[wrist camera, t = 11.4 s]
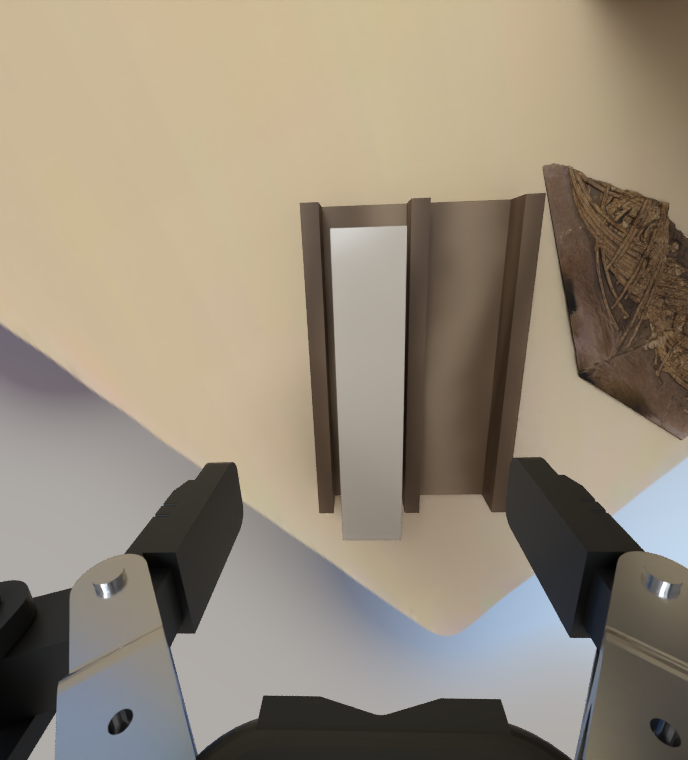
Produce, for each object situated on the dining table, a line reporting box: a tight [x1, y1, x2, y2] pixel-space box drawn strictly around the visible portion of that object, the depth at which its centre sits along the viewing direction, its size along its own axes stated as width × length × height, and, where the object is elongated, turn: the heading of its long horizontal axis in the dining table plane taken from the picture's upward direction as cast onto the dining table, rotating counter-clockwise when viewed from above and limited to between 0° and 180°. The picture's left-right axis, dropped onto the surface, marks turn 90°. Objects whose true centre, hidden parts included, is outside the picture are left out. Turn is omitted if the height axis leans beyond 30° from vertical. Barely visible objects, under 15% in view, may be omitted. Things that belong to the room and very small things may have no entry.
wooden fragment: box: [543, 164, 688, 440], centre depth 29 cm, size 26×11×1 cm, turn 33°
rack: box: [300, 193, 546, 513], centre depth 29 cm, size 16×24×4 cm, turn 2°
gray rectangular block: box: [330, 226, 407, 540], centre depth 26 cm, size 4×20×8 cm, turn 2°
